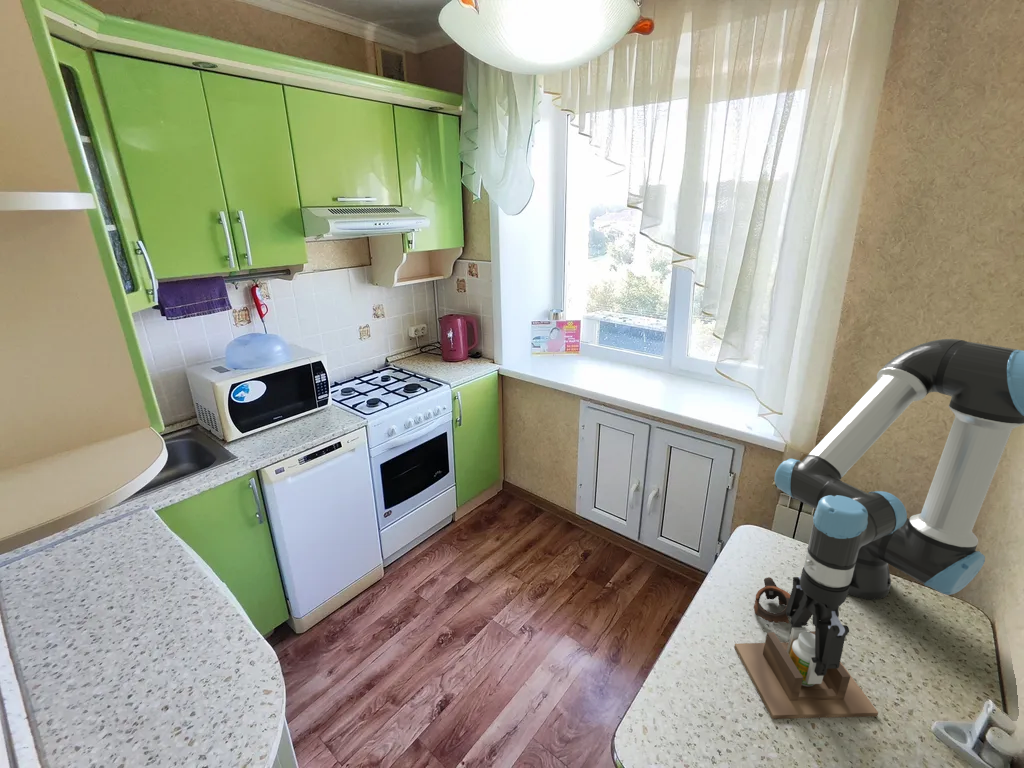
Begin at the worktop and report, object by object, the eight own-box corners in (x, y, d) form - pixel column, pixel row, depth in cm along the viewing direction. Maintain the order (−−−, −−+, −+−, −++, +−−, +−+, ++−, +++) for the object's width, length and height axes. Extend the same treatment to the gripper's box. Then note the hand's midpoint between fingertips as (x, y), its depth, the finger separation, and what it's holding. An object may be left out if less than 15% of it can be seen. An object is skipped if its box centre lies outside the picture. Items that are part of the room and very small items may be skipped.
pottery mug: (809, 631, 110) (802, 613, 106) (767, 640, 113) (759, 623, 109) (786, 583, 120) (779, 565, 116) (747, 593, 123) (739, 576, 119)
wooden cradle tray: (824, 644, 106) (830, 620, 103) (877, 716, 91) (886, 689, 88) (734, 647, 106) (738, 622, 103) (772, 719, 91) (778, 692, 88)
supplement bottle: (790, 684, 96) (799, 648, 93) (782, 661, 101) (791, 626, 98) (820, 690, 95) (830, 653, 92) (811, 666, 100) (820, 630, 96)
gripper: (778, 542, 98) (761, 629, 106) (839, 615, 80) (813, 713, 88) (815, 541, 98) (795, 628, 106) (883, 614, 80) (853, 712, 88)
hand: (803, 666), depth 97 cm, fingers open, 6 cm apart
